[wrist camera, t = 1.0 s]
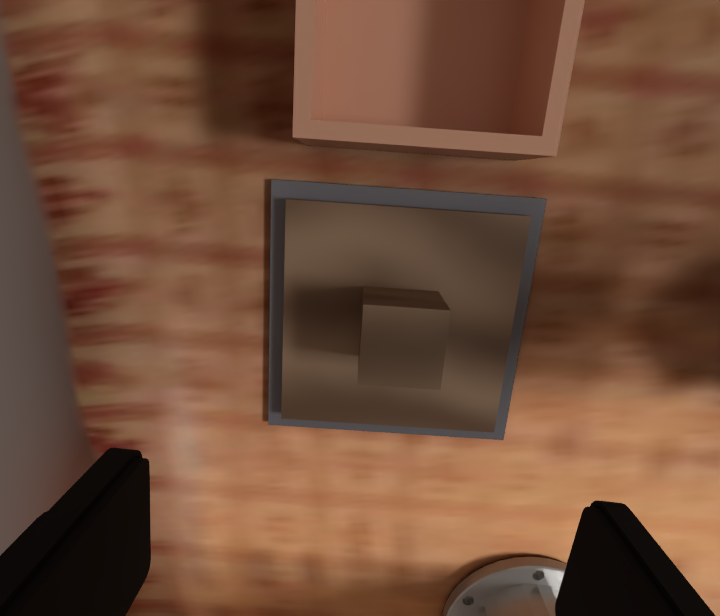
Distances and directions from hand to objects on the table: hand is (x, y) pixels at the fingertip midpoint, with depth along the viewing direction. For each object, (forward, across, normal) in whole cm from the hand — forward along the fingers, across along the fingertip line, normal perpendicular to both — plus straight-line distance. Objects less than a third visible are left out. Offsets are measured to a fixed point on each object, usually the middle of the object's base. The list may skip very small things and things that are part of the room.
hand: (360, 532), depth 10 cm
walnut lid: (+19, -2, +1) cm, 19 cm away
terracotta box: (+20, -1, -15) cm, 25 cm away
